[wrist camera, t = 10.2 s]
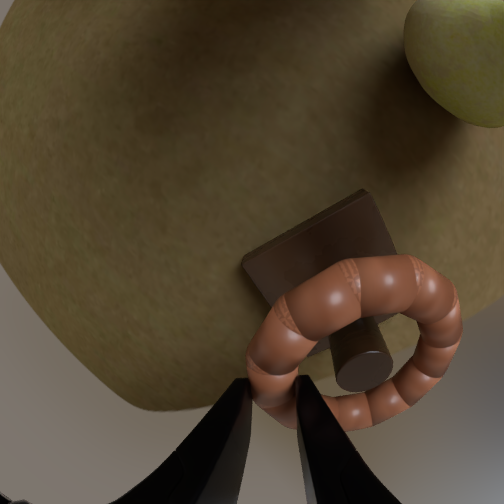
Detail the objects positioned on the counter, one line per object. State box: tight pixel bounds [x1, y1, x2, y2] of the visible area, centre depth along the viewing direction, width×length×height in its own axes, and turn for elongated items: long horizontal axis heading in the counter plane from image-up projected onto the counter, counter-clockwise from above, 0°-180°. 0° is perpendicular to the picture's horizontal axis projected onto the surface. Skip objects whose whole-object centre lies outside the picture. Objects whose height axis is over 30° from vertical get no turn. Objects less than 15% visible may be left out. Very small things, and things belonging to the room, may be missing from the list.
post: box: [242, 189, 397, 392], centre depth 11 cm, size 7×7×7 cm
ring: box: [245, 254, 463, 432], centre depth 8 cm, size 8×8×2 cm
